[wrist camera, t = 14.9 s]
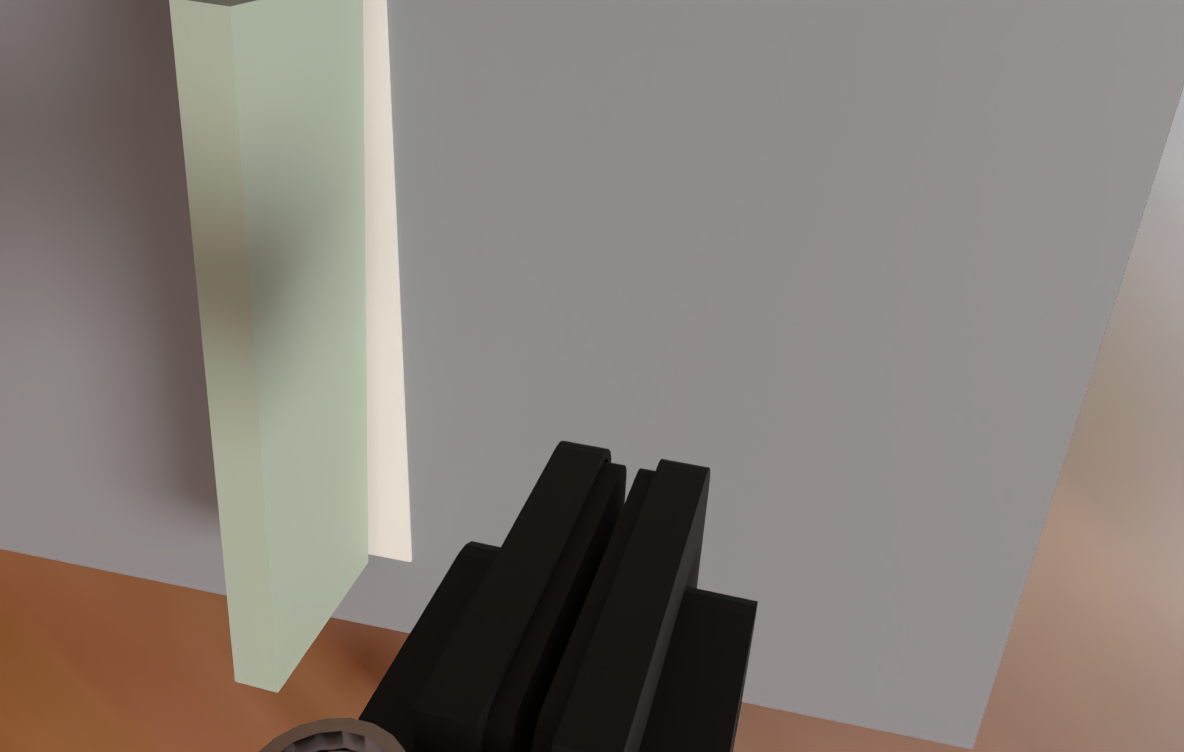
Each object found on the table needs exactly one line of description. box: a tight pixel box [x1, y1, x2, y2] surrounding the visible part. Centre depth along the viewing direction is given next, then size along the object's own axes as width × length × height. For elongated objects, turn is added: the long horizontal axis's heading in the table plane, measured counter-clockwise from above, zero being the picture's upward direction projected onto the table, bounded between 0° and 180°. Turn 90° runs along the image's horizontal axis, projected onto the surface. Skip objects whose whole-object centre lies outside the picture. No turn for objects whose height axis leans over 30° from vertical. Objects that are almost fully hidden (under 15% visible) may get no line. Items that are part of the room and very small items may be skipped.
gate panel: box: [169, 0, 368, 693], centre depth 20 cm, size 1×14×5 cm, turn 174°
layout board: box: [0, 0, 1184, 750], centre depth 19 cm, size 24×32×6 cm
